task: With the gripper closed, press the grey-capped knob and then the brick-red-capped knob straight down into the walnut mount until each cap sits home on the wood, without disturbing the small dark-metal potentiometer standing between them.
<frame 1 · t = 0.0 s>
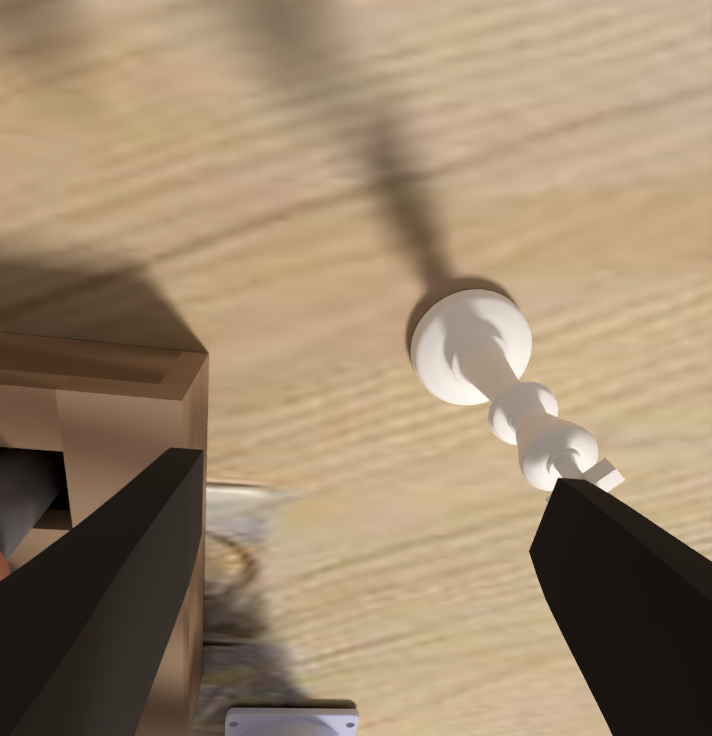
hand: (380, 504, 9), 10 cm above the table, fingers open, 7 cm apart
mount: (84, 536, 22), on the table
chess piece: (467, 345, 19), on the table
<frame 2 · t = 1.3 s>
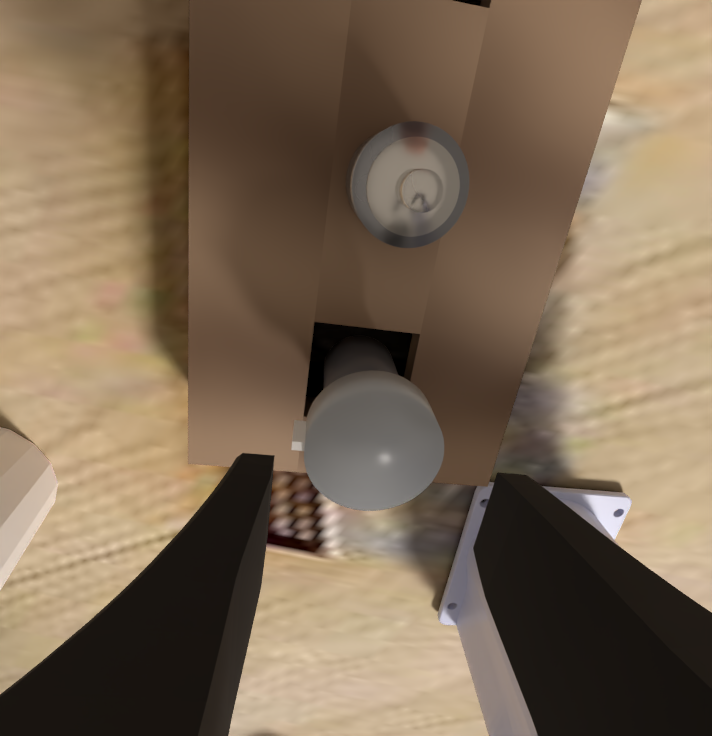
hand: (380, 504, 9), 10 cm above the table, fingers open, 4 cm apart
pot: (391, 182, 13), point 4 cm above the table, touching mount
knob grey: (360, 403, 13), point 6 cm above the table, slide at 0.0 cm
mount: (376, 178, 17), on the table
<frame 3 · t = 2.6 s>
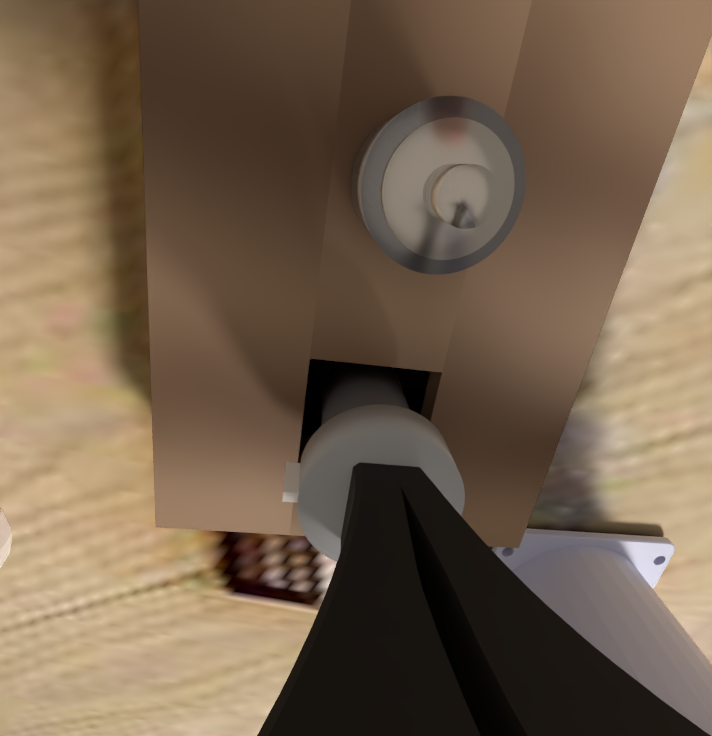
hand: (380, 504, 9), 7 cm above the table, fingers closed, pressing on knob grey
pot: (409, 183, 10), point 4 cm above the table, touching mount
knob grey: (363, 436, 12), point 5 cm above the table, slide at 1.3 cm, touching gripper
mount: (385, 178, 14), on the table
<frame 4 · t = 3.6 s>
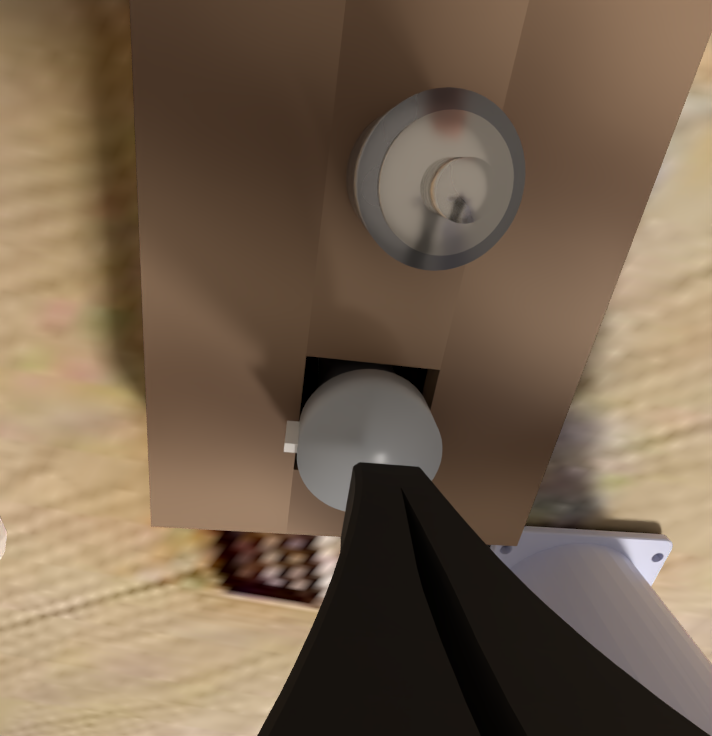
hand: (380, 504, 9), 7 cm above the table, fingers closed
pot: (407, 178, 10), point 4 cm above the table, touching mount
knob grey: (355, 402, 13), point 3 cm above the table, slide at 2.9 cm
mount: (382, 173, 13), on the table
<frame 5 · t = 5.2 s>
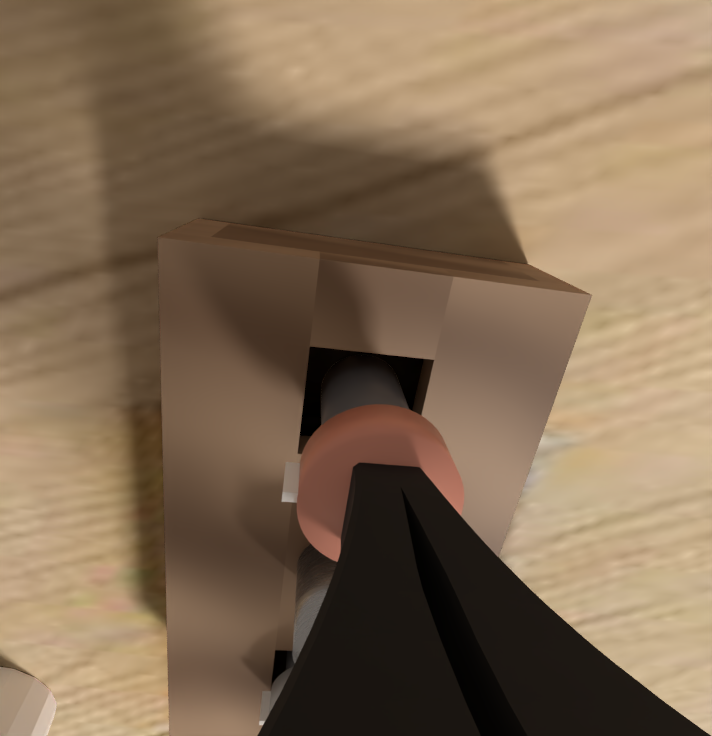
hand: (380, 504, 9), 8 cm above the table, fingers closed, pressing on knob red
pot: (336, 565, 15), point 4 cm above the table, touching mount
knob grey: (312, 654, 19), point 3 cm above the table, slide at 2.9 cm
mount: (332, 488, 19), on the table
knob red: (362, 436, 12), point 5 cm above the table, slide at 0.4 cm, touching gripper
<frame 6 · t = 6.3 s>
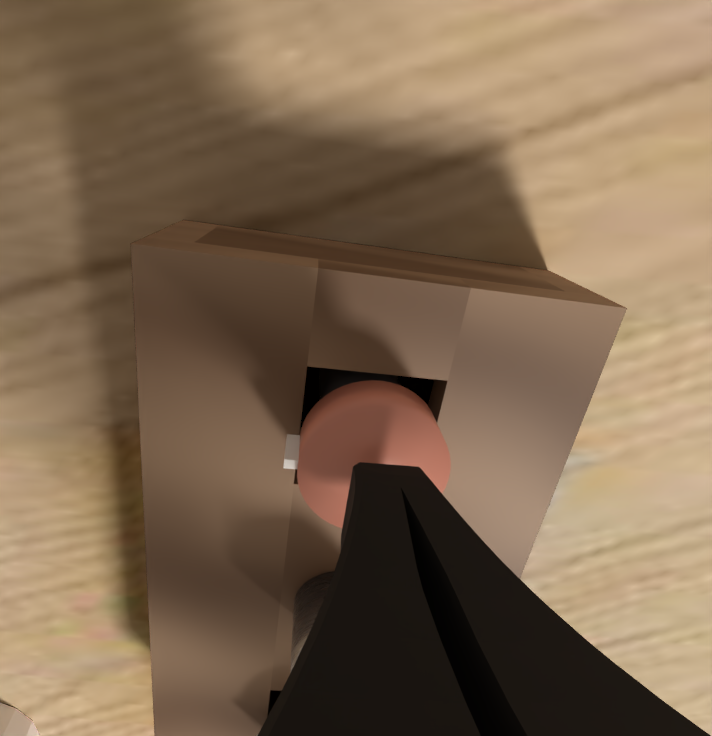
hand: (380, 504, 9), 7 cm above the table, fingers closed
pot: (336, 602, 14), point 4 cm above the table, touching mount
mount: (333, 510, 18), on the table
knob red: (358, 413, 13), point 3 cm above the table, slide at 2.9 cm
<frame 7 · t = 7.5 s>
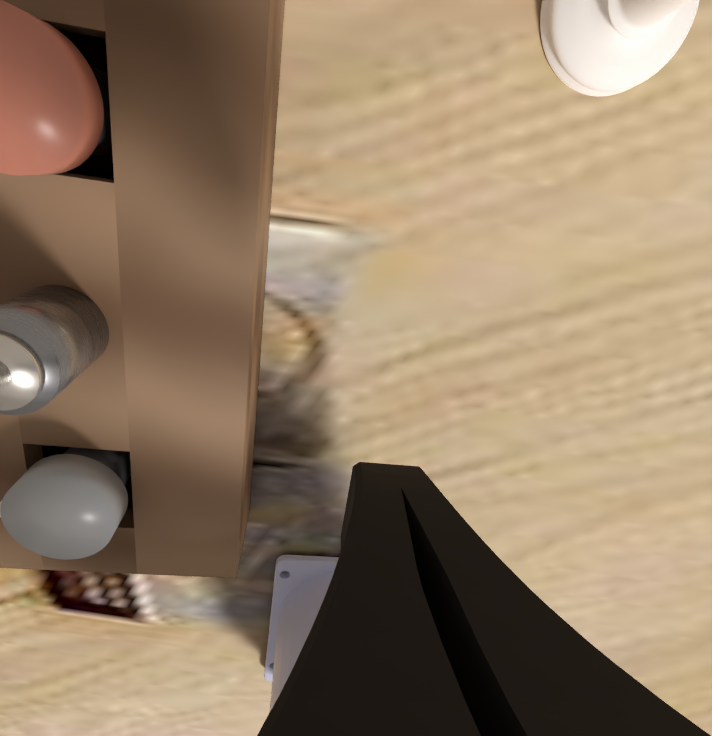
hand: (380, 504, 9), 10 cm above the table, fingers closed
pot: (63, 327, 14), point 4 cm above the table, touching mount
knob grey: (89, 470, 17), point 3 cm above the table, slide at 2.9 cm
mount: (116, 292, 17), on the table
knob red: (52, 103, 12), point 3 cm above the table, slide at 2.9 cm
chess piece: (610, 11, 15), on the table
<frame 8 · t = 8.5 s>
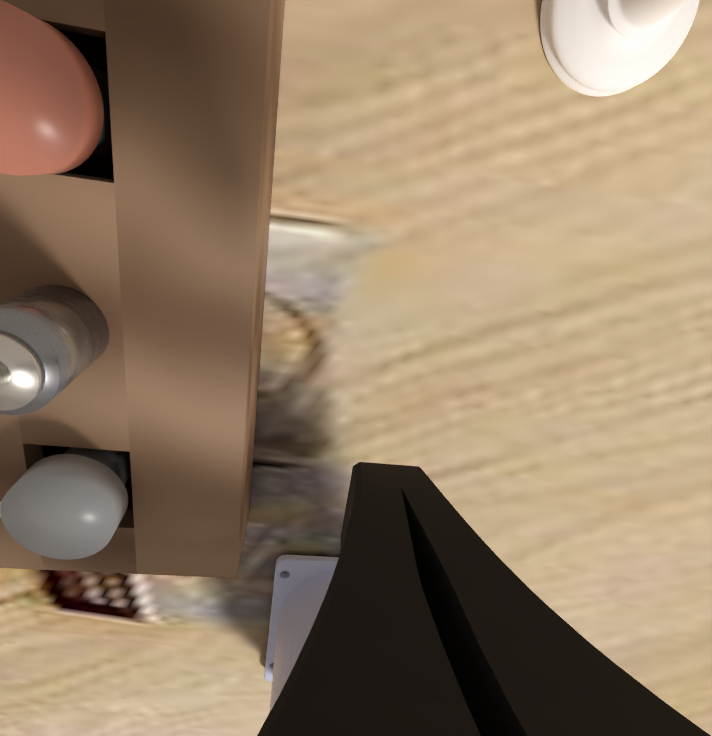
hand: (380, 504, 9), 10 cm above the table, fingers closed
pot: (63, 327, 14), point 4 cm above the table, touching mount
knob grey: (89, 470, 17), point 3 cm above the table, slide at 2.9 cm
mount: (116, 292, 17), on the table
knob red: (52, 103, 12), point 3 cm above the table, slide at 2.9 cm
chess piece: (610, 11, 15), on the table
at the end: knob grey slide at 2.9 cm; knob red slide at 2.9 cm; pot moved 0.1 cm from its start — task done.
